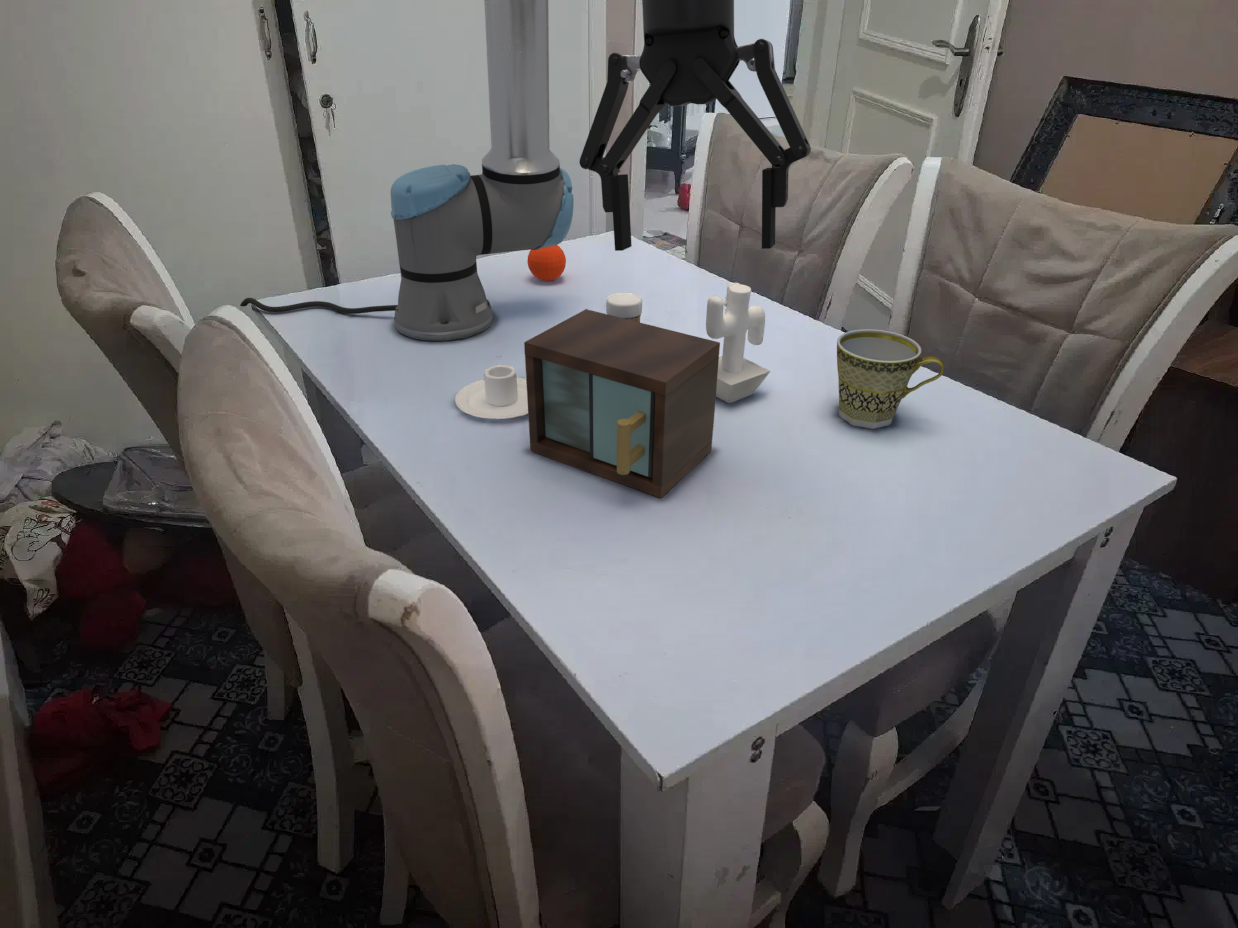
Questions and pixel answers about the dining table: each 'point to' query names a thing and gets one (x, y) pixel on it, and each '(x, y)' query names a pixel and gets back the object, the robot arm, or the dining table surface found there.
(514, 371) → the candle holder
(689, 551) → the dining table surface
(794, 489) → the dining table surface
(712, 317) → the figurine
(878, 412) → the ceramic cup
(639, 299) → the sprinkles bottle
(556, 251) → the clementine
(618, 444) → the glass door
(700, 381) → the cabinet
